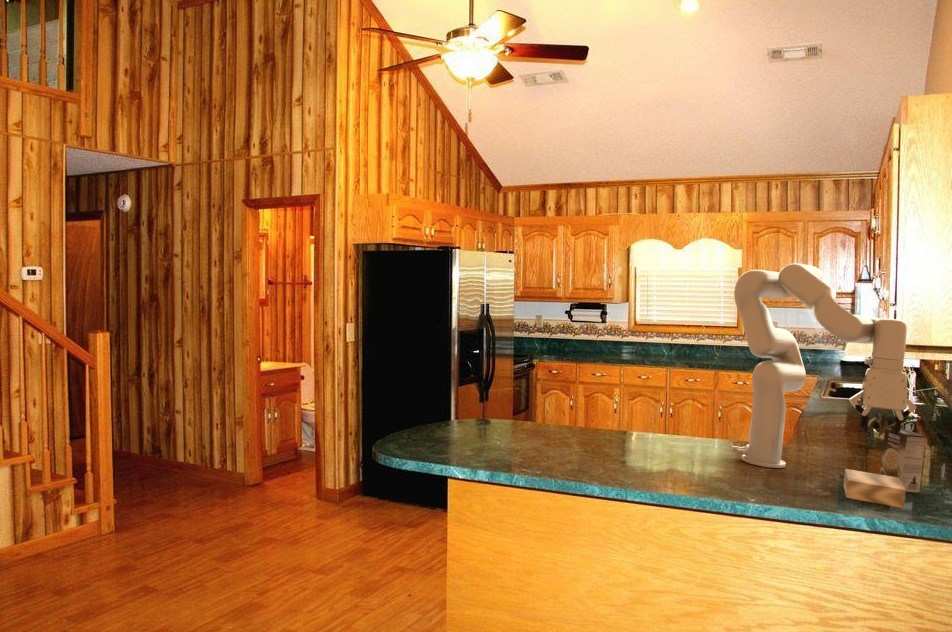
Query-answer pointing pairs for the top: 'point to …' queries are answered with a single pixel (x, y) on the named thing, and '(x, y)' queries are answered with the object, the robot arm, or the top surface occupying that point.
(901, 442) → the coffee box
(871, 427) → the eagle figurine
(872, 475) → the maple block
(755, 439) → the robot arm
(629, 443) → the top surface
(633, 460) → the top surface
